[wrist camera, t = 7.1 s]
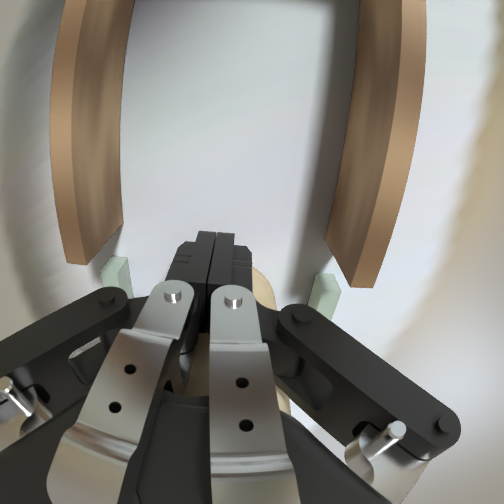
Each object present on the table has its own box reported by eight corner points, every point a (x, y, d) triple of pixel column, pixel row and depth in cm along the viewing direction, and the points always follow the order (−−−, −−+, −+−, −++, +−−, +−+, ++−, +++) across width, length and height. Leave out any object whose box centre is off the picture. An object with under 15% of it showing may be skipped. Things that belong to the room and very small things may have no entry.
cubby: (136, -62, 5) (107, -95, 1) (378, -43, 6) (415, -73, 2) (106, 222, 13) (67, 262, 9) (343, 241, 13) (372, 288, 10)
